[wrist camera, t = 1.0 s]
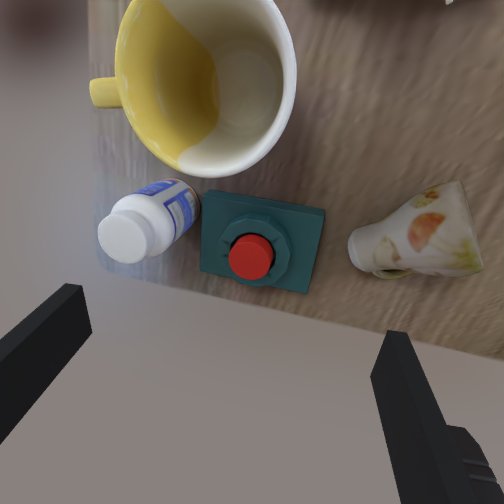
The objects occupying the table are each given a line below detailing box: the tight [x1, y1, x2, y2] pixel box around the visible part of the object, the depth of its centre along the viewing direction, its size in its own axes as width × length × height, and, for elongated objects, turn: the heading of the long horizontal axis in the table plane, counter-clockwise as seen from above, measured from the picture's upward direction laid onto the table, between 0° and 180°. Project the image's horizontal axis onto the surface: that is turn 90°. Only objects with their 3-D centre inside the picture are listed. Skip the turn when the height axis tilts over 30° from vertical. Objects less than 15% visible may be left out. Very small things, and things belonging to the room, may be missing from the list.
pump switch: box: [200, 190, 325, 294], centre depth 30 cm, size 11×8×4 cm
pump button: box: [229, 234, 273, 280], centre depth 28 cm, size 4×4×2 cm
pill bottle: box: [98, 178, 200, 264], centre depth 28 cm, size 5×5×10 cm
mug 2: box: [348, 180, 484, 279], centre depth 25 cm, size 8×10×10 cm
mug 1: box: [90, 0, 297, 178], centre depth 22 cm, size 14×10×10 cm
